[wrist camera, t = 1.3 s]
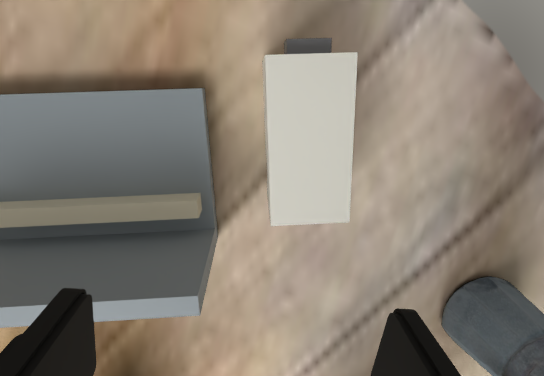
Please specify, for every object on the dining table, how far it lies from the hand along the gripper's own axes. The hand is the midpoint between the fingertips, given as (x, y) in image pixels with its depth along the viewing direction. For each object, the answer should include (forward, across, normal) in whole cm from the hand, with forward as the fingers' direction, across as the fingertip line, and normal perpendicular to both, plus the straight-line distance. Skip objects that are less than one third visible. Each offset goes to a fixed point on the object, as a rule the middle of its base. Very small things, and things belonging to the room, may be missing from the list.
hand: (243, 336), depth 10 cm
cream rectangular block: (+21, -4, -3) cm, 22 cm away
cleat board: (+21, +14, +4) cm, 26 cm away
